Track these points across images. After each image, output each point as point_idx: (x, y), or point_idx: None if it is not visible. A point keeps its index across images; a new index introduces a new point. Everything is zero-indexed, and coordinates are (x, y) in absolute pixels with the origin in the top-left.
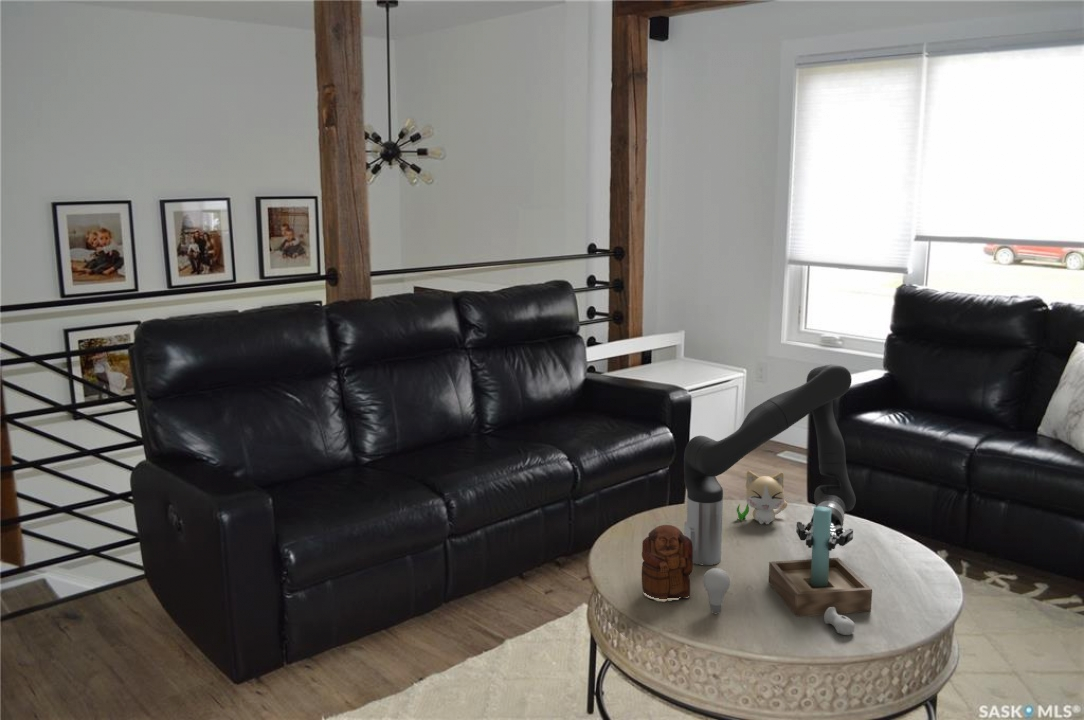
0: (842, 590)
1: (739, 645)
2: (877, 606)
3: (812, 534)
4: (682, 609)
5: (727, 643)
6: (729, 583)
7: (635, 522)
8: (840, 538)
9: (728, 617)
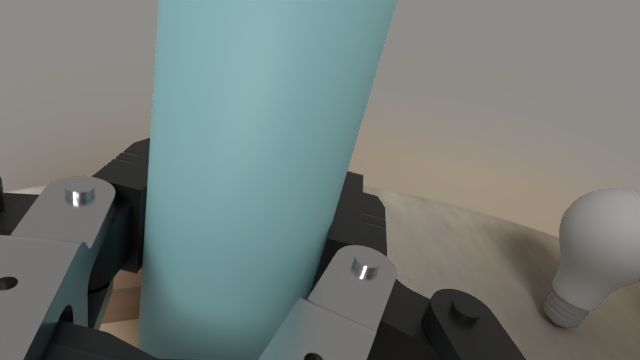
0: (122, 277)
1: (430, 208)
2: None
3: (336, 232)
4: None
5: (455, 214)
6: (567, 222)
7: None
8: (8, 195)
9: (510, 304)
